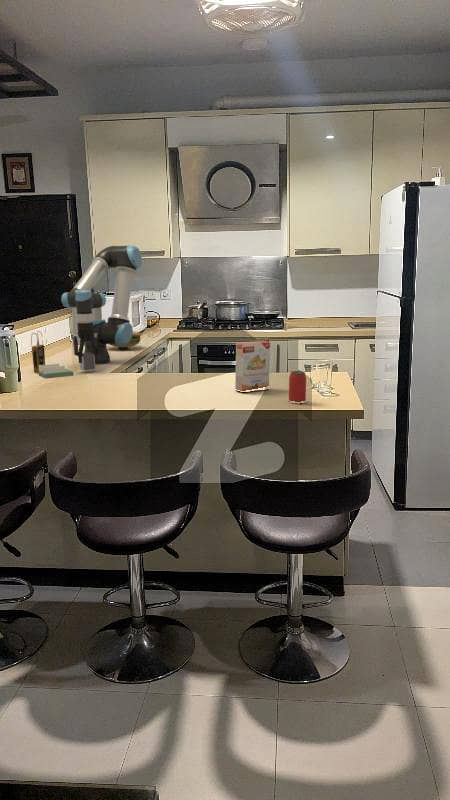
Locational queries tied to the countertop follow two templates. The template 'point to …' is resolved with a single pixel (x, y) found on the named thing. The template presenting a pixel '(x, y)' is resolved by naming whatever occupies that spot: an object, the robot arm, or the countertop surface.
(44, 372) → the board
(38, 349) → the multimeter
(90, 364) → the plug
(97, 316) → the tall grey upright block
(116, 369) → the countertop surface
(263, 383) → the cracker box
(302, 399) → the beer can
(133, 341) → the ceramic bowl
